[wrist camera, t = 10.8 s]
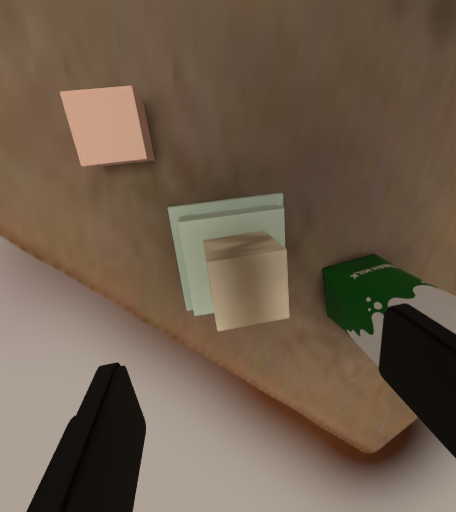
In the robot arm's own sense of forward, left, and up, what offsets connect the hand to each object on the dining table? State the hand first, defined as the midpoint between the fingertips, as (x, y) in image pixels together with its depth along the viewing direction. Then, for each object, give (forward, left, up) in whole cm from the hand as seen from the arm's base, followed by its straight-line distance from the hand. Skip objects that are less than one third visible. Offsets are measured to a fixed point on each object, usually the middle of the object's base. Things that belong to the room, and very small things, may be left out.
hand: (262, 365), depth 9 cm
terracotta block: (+7, -10, -20) cm, 24 cm away
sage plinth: (-2, +3, -20) cm, 20 cm away
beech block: (-2, +3, -16) cm, 16 cm away
